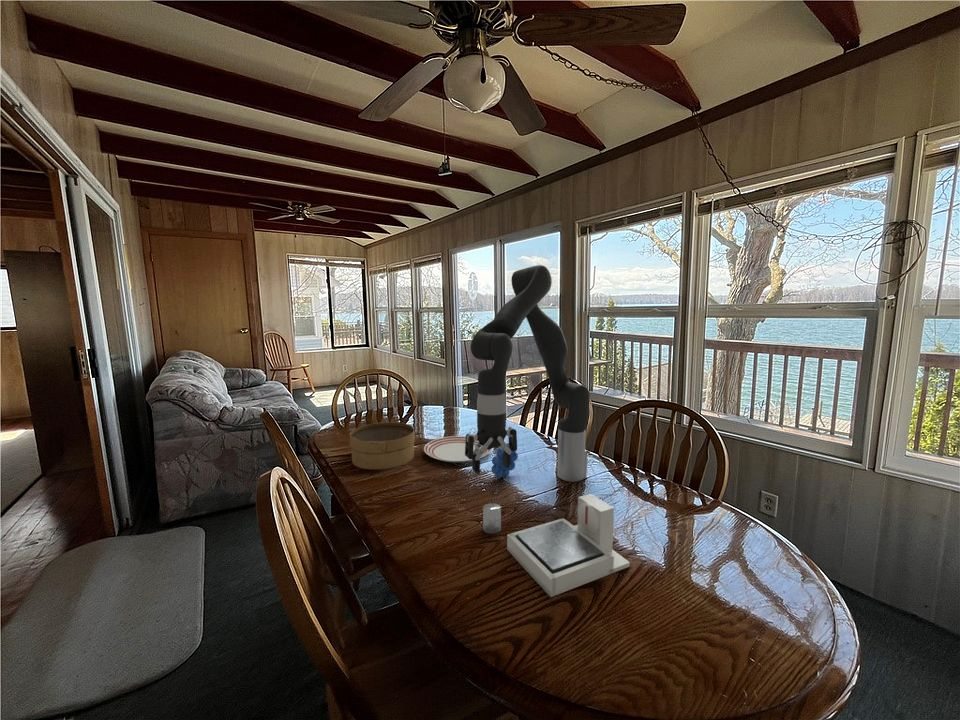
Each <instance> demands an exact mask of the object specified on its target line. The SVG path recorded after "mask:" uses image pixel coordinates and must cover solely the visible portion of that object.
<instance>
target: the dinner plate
mask: <svg viewBox="0 0 960 720" xmlns="http://www.w3.org/2000/svg"><path fill="white" fill-rule="evenodd" d="M465 441H466V435H465V436H463V435H462V436H461V435H456V436H455V435H453V436H452V435H451V436H444V437H440V438H436V439H432V440H431V441H429V442H427V443H426V444H425V445H424V446H423V451H424V453H425V455H428V456H429V457H430V458H433V459H435V460H438V461H442V462H447V463H455V464H456V463H467V462H472V459H469V458H468V457H466V456H465ZM477 443H478V440H477V439H476V441H475V443H474V447H473V451H474V450H475V446H476V445H477ZM481 448H482V446H481ZM492 449H493V448H492ZM492 449H489V450H488V449H486V451H485V452H484V453H483V454H482V455H481V457H480V458H479V459H482V458H485V457H486V456H488V455H489V454H490V453H491V452H492Z"/></svg>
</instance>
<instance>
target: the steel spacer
mask: <svg viewBox="0 0 960 720" xmlns="http://www.w3.org/2000/svg"><path fill="white" fill-rule="evenodd" d="M482 530H483V532H484V533H486V534H493V535H494V534H498V533H500V532H501V531H502V507H501V505H500V504H498V503H493V502H492V503H486V504H484V505H483V506H482Z"/></svg>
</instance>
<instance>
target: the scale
mask: <svg viewBox="0 0 960 720" xmlns="http://www.w3.org/2000/svg"><path fill="white" fill-rule="evenodd" d="M577 498H578V499H577V512H576V513H577V524H575V525H573V524H572V523H571V522H570V521H568V520H566V519H565V518H559V519H555V520H553V521H549V522H545V523H542V524H538V525H535V526H532V527H529V528H524V529H522V530H519V531H518V530H517V531H515V532H511V533H508V534H507V535H506V537H507V538H506V540H507V542H506V548H507V549H506V550H507V551H508V552H509V553H510V555H512V557H513V558H514V559H515V560H516V561H517V562H518V563H519V564H520V566H522V568H523V569H524V570H525V571H526V572H527V573H528V574H529V575H530V576H531V578H533V579H534V581H535V582H536V583H537V584H538V585H539V586H540V587H541V588H542V590H543V591H544V592H545V593H546V594H547V595H548V596H549V598H553V597H555V596H558V595H560V594H562V593H565V592H568V591H571V590H573V589H576V588H578V587H580V586H584V585H585V584H589V583H591V582H593V581H595V580H599V579H601V578H604V577H607V576H608V575H612V574H614V573H616V572H620V571H621V570H625V569H627V568H629V567H630V566H631V562H630V561H629V560H627V559H626V558H625V557H623V556H622V555H621V554H619V553H618V552H616V551H615V550H614V549H613V541H614V540H613V539H614V517H615V508H614V507H613V506H612V505H610V504H608V503H607V502H605V501H604V500H602V499H601V498H598V497H597V496H596V495H593V494H592V493H589V494H585V495H581V496H578V497H577ZM560 521H563V522H564V523H566V524H567V525H568V526H570V527H571V528H572V529H574V530H575V531H576V532H577V533H579V534H580V535H581V536H583V537H584V538H585V539H587V540H588V541H589V542H590V543H592V544H593V545H594V546H596V547H597V548H598V549H600V550H601V551H602V552H603V556H601V557H598V558H596V559H593V560H590V561H587V562H585V563H582V564H579V565H576V566H573V567H571V568H568V569H565V570H562V571H560V572H557V573H554V574H552V573H551V572H550V571H549V570H548V569H547V568H546V567H545V566H544V565H543V564H542V563H541V562H540V561H539V560H538V559H537V558H536V557H535V556H534V555H533V554H532V553H531V552H530V551H529V550H528V549H527V548H526V547H525V546H524V545H523V544H522V543H521V542H520V541H519V540H518V539H517V534H519V533H523V532H526V531H529V530H533V529H536V528H540V527H543V526H547V525H550V524H553V523H557V522H560Z"/></svg>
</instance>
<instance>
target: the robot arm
mask: <svg viewBox="0 0 960 720" xmlns="http://www.w3.org/2000/svg"><path fill="white" fill-rule="evenodd" d="M552 282H553V281H552V275H551V273H550V270H549V269H548V268H547V266H545V265H541V264H537V265H533V266H528V267H525V268H521V269H518V270H516V271H514V272H513V273H512V275H511V286H512V290H513V292H514V293H513V294H514V295H515V296H514V297H512V298H511V299H510V300H509V301H507V302H506V303H505V304H504V305H503V306H502V307H501V308H500V309H499V310H498V312H497V313H496V315H495V317H494V318H493V319H492V320H491V321H490V322H488V323H487V324H486V325H484V326H483V327H481V328H480V329H479V330H478V331H476V332H475V335H474V336H473V337H472V339H471V342H470V352H471V355H472V356H473V357H474V358H476V359H477V360H480V361H491V362H492V361H493V365H492V367H491V368H486V369H482V370H480V371H478V374H477V375H478V376H477V400H476V409H477V410H476V428H477V432H476V433H475V434H471V433H466V435H465V436H466V441H465V456H466V457H468V458H469V459H472V461H471V465H472V470H473V472H475V474H477V475H478V474H481V458H480V457H481V455H482V454H483V453H484V452H485V451H486V449H488V450H489V449H498V448H500V447H501V448H502V450H503V451H504V452H503V466H504V467H505V468H508V467H509V465H510V456H511V452H513V451H516V452H517V451H518V439H517V437H518V436H517V434H518V433H517V430H516V429H515V428H513V427H511V426H510V427H508V428H507V429H506V427H507V397H506V376H507V372H508V367H509V363H510V360H511V357H512V353H513V347H514V346H513V341H512V338H514V336H515V335H516V334H517V332H518V330H519V328H520V327H521V325H522V323H523V322H524V320H525V319H526V321H527V323H528V325H529V328H530V330H531V333H532V335H533V336H532V337H533V338H534V342H535V344H536V347H537V349H538V352H539V354H540V357H541V360H542V362H543V365H544V368H545V372H546V374H547V377H548V380H549V384H550V389H551V393H552V396H553V400H554V401H555V403H556V405H558V406H559V407H561V408H562V409H566V410H568V416H566V417H562V418H561V419H559V421H558V422H557V423H558V425H557V427H558V429H557V431H558V432H557V433H558V434H557V435H558V436H557V471H556V473H557V474H556V475H557V477H558V478H559V479H561V480H563V481H565V482H572V483H574V482H581V481H583V480H584V479H585V478H587V476H588V475H587V474H588V473H587V472H588V450H586V432H587V431H586V430H587V429H586V428H587V423H588V421H589V413H590V403H591V402H590V400H591V399H590V396H591V395H590V391H589V389H588V387H587V386H586V385H584V384H580V383H575V382H571V381H570V379H569V377H568V374H567V371H566V367H565V365H566V360H567V357H568V351H569V348H568V345H567V340H566V338H565V335H564V332H563V330H562V328H561V327H560V325H558V323H557V322H555V321H554V319H553V318H551V317H550V316H549V315H547V314H546V313H545V312H544V310H542V309H541V307H540V306H539V305H538V304H539V303H540V302H541V300H543V298H544V297H545V296H546V295H548V293H549V292H550V290H551V288H552V284H553V283H552ZM506 437H507V439H508V443H509V446H508V445H507V443H506V442H505V438H506ZM476 439H477V440H478V443H477V445H476V446H475V450H474V451H473V447H474V443H475V441H476ZM481 446H482V448H481Z"/></svg>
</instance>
